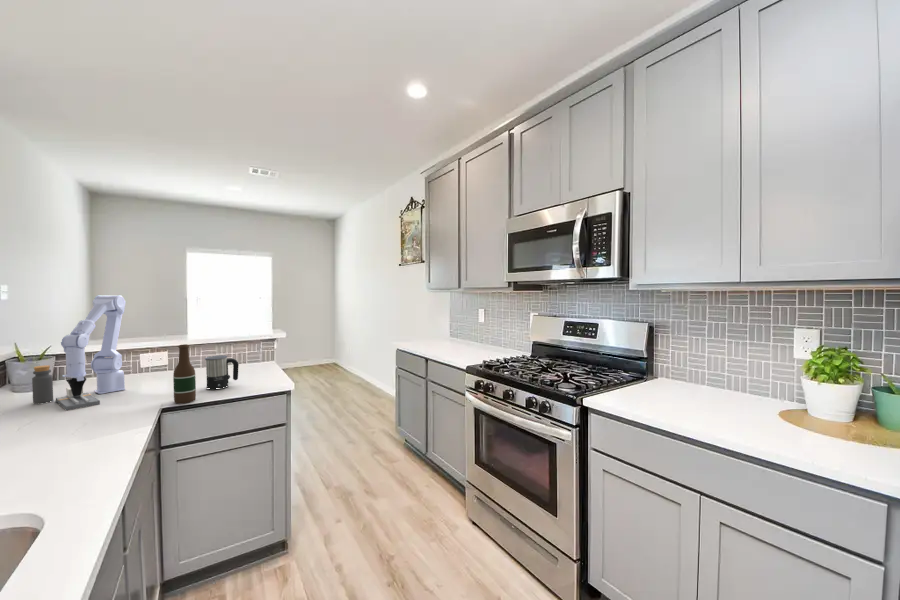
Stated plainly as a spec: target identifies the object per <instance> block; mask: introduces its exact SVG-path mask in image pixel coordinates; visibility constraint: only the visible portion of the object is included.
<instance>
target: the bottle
mask: <svg viewBox="0 0 900 600" xmlns="http://www.w3.org/2000/svg"><path fill="white" fill-rule="evenodd" d="M50 367H51V365H50V364H47V365H44V364H43V365H36V366H34V367H33V369H34V371H33V372H32V374H33V375H35V376H33V377H32V378H31V379H32V380H31V385H32V387H31V389H32V403H34V404H33V405H39V404H38V403H43V404H47V403H46V402H48V403H51V402H50V401H52V402H53V401H54V386H53V385H54V383H53V375H52V374H50V373H51V372H52V369H50Z"/></svg>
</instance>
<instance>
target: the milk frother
mask: <svg viewBox="0 0 900 600" xmlns="http://www.w3.org/2000/svg"><path fill="white" fill-rule="evenodd" d="M204 361H205V368H206V369H205V370H206V388H210V389H216V388H223V387H226V386H228V387H229V380H230V378H231V375H229V363H232V379H233V380H234V381H237V380H238V379H239V366H240V365H239V361H237V359H236V358H234V357H232V358H230V357H229V358H228V355H211V356H207V357H205V358H204ZM226 388H227V387H226ZM223 389H224V388H223Z"/></svg>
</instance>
